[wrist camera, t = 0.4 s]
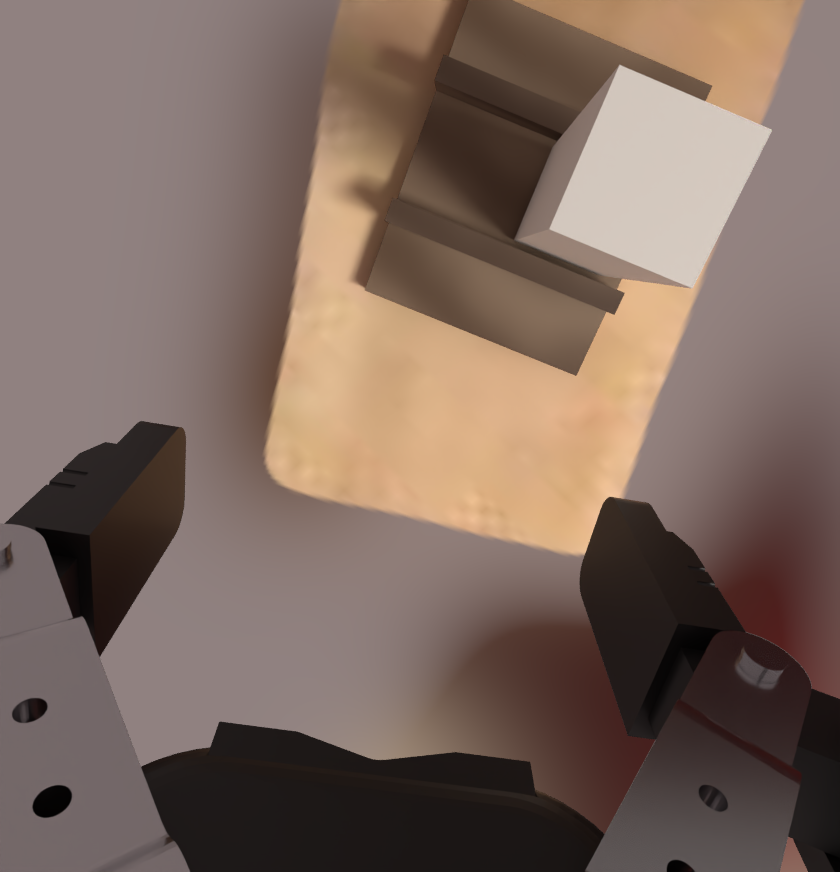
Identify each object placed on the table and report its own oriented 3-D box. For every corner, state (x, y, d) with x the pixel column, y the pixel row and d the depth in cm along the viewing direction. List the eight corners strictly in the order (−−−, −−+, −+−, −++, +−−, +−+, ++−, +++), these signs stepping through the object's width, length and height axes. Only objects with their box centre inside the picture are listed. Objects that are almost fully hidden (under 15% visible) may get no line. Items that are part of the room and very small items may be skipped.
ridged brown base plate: (473, -8, 33) (474, -34, 30) (705, 90, 34) (727, 75, 31) (367, 289, 37) (359, 292, 35) (573, 372, 38) (582, 382, 35)
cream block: (552, 147, 34) (619, 64, 19) (640, 183, 34) (772, 129, 19) (513, 240, 35) (549, 229, 21) (598, 275, 35) (692, 288, 21)
